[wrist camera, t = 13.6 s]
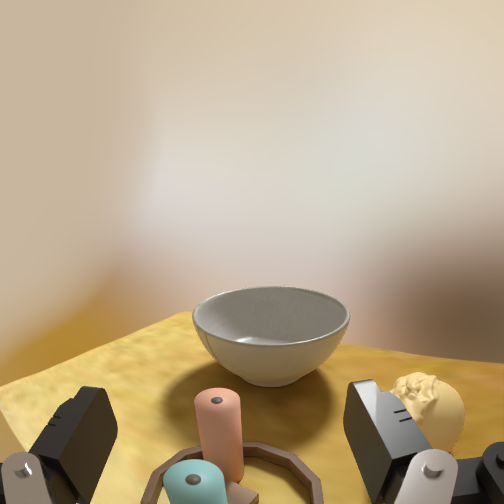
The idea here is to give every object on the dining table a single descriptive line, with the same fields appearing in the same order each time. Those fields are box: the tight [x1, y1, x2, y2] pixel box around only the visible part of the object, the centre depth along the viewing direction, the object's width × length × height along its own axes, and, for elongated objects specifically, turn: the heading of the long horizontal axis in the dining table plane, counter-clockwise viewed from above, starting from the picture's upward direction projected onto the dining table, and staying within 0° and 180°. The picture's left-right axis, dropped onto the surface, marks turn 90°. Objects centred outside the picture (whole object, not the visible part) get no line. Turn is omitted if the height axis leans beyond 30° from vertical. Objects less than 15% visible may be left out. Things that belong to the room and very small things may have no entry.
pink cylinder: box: [194, 388, 244, 483], centre depth 31 cm, size 5×5×12 cm
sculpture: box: [389, 372, 465, 453], centre depth 32 cm, size 12×12×11 cm
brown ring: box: [141, 441, 324, 504], centre depth 26 cm, size 19×19×2 cm
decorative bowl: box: [192, 286, 350, 387], centre depth 56 cm, size 27×27×12 cm
